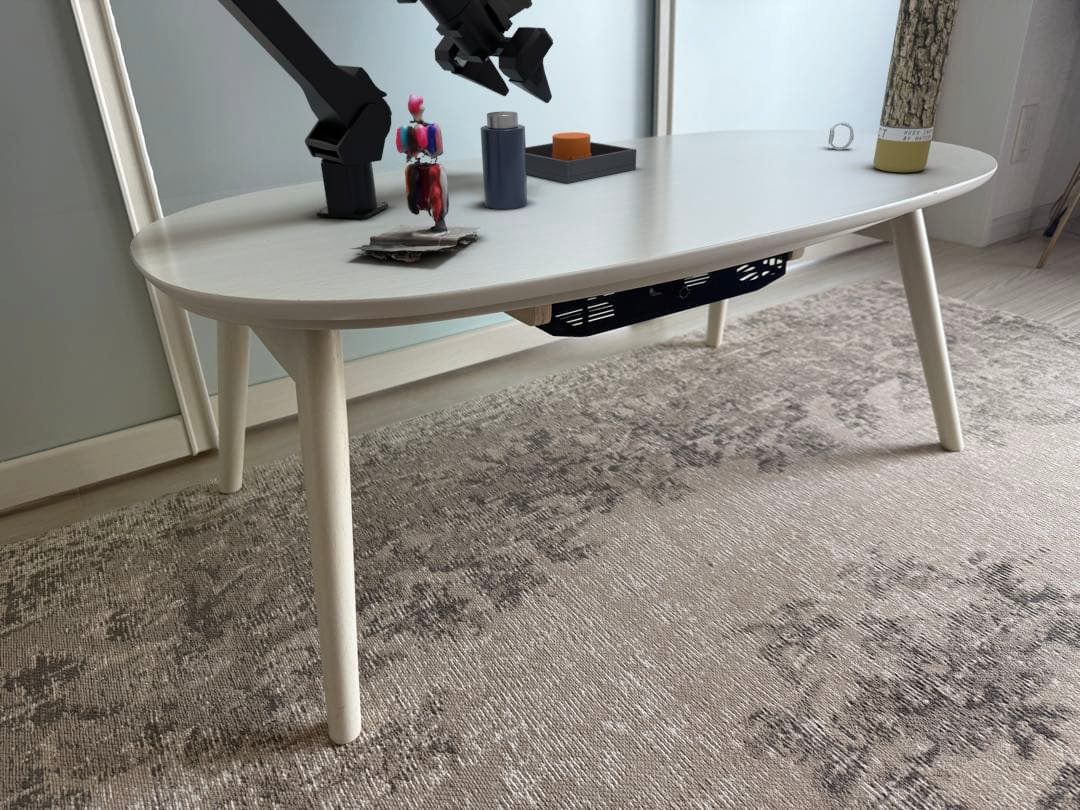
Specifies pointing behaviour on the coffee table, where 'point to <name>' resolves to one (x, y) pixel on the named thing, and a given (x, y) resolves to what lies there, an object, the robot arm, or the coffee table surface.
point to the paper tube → (914, 83)
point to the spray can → (504, 161)
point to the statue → (420, 195)
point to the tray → (579, 163)
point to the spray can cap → (571, 146)
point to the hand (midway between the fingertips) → (527, 96)
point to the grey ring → (833, 135)
